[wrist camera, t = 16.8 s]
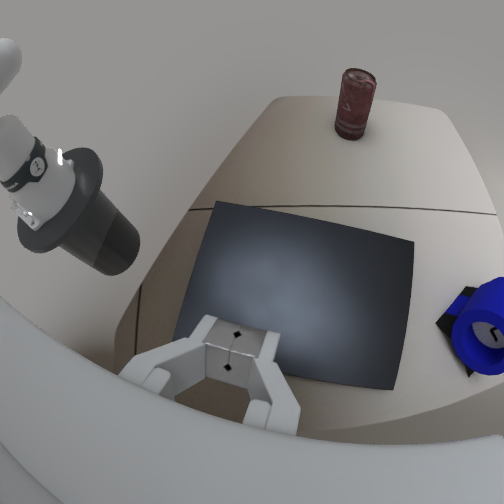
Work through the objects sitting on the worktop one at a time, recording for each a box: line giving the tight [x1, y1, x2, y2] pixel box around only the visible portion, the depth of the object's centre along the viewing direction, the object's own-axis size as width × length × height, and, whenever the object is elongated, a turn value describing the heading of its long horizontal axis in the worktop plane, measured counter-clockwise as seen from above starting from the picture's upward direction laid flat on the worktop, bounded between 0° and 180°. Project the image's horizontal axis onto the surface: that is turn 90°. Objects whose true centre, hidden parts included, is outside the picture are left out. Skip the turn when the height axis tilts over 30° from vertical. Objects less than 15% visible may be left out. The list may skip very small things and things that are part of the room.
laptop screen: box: [172, 201, 414, 390], centre depth 34 cm, size 21×30×1 cm
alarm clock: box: [436, 277, 504, 377], centre depth 25 cm, size 12×12×15 cm
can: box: [335, 68, 377, 140], centre depth 42 cm, size 6×6×14 cm
